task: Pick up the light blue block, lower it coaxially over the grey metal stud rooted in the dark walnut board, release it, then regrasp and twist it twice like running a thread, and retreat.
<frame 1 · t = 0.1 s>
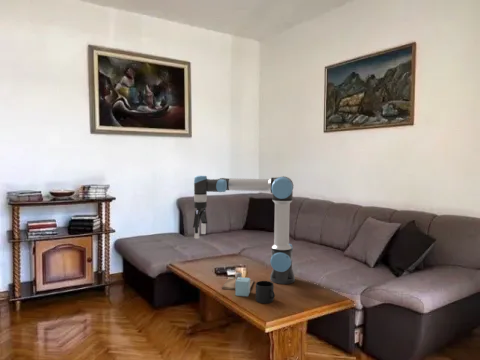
hand: (200, 236, 226), 28 cm above the table, fingers open, 13 cm apart
post base: (238, 285, 222), on the table
light blue block: (242, 293, 208), on the table
mug: (266, 301, 198), on the table
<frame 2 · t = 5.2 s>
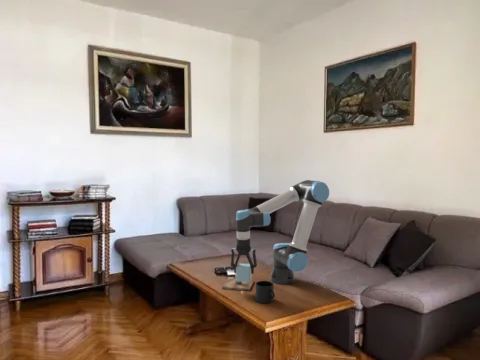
hand: (244, 278, 208), 8 cm above the table, fingers closed on light blue block, 7 cm apart
light blue block: (244, 279, 208), point 8 cm above the table, touching gripper
everything else where it was.
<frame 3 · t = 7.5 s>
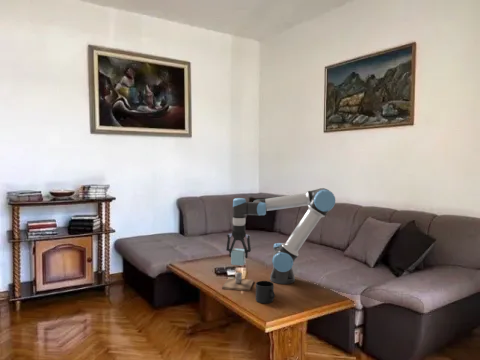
hand: (238, 262, 221), 13 cm above the table, fingers closed on light blue block, 7 cm apart
light blue block: (238, 263, 221), point 13 cm above the table, touching gripper
everything else where it was.
when the fingers open (2 cm above the table, at t = 9.8 s): light blue block stays where it is, resting on post base.
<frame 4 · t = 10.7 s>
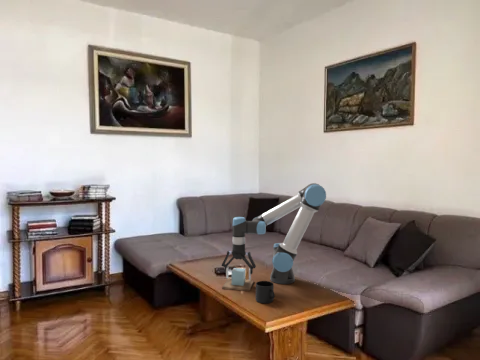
hand: (238, 278, 221), 4 cm above the table, fingers open, 13 cm apart
light blue block: (238, 283, 222), point 1 cm above the table, touching post base
everything else where it was.
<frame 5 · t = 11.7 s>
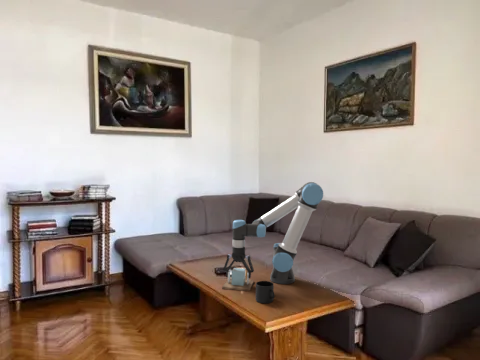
hand: (238, 282, 222), 1 cm above the table, fingers closed on post base, 11 cm apart
nothing on the table moved.
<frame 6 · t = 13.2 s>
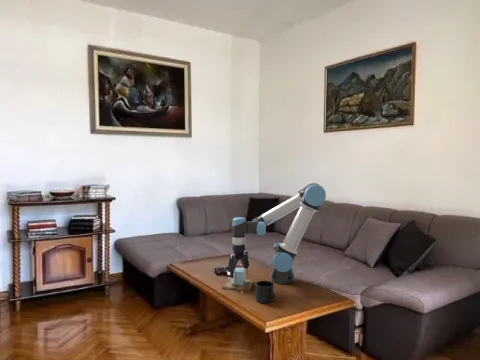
hand: (238, 280, 221), 3 cm above the table, fingers open, 10 cm apart
light blue block: (238, 283, 222), point 1 cm above the table
everything else where it was.
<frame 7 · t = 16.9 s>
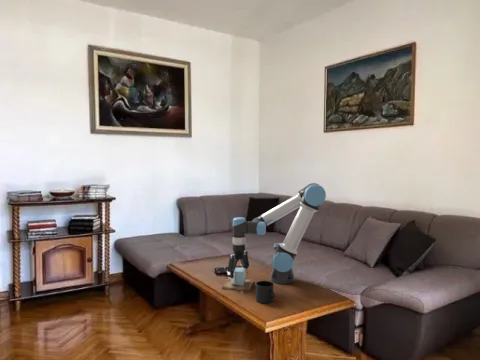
hand: (238, 281, 221), 3 cm above the table, fingers closed on light blue block, 10 cm apart
light blue block: (238, 283, 222), point 1 cm above the table, touching gripper
everything else where it was.
when the fingers open (3 cm above the table, at t = 17.0 s): light blue block stays where it is, resting on post base.
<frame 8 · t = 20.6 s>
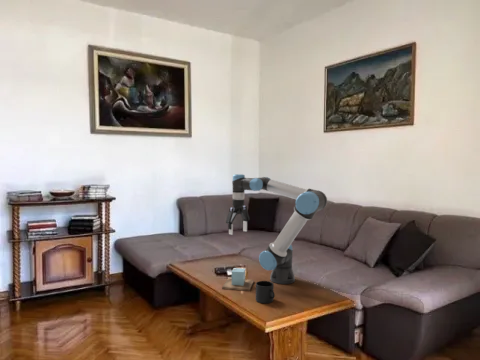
hand: (238, 233, 233), 29 cm above the table, fingers open, 13 cm apart
light blue block: (238, 283, 222), point 1 cm above the table, touching post base
everything else where it was.
at the end: light blue block 0.0 cm off-centre on the post base, point 1.2 cm above the post base's base; light blue block tilted 0°; the gripper is holding nothing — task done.
